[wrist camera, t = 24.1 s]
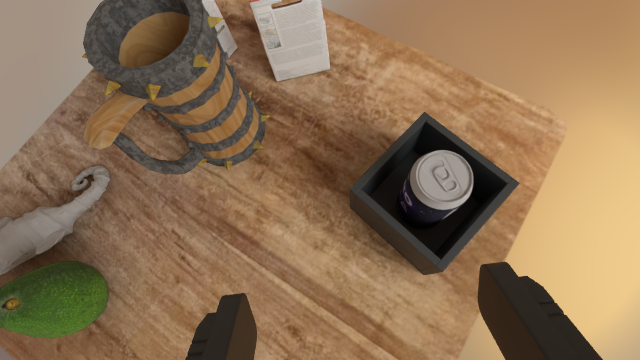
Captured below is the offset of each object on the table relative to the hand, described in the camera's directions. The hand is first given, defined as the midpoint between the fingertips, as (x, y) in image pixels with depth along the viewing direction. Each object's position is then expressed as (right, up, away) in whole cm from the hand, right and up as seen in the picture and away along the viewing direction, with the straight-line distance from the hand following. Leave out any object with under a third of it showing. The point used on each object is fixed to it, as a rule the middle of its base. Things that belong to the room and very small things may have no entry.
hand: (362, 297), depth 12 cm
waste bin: (+11, +1, +30) cm, 32 cm away
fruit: (-29, -10, +31) cm, 44 cm away
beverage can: (+11, +1, +30) cm, 32 cm away
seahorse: (-37, -2, +34) cm, 50 cm away
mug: (-15, +9, +36) cm, 40 cm away
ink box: (-4, +20, +38) cm, 43 cm away
